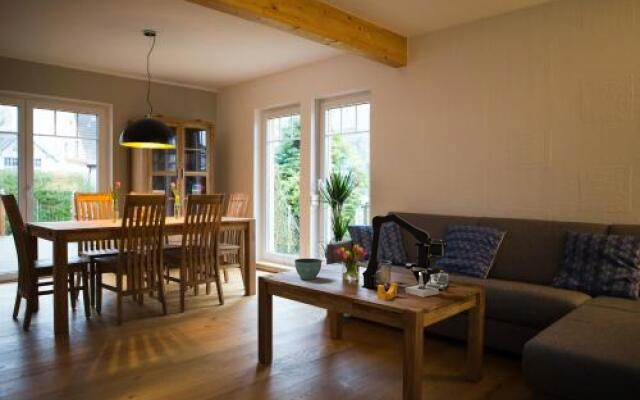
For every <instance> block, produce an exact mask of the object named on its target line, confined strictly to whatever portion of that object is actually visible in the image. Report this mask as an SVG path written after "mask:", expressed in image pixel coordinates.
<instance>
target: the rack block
mask: <svg viewBox="0 0 640 400" xmlns="http://www.w3.org/2000/svg"><path fill="white" fill-rule="evenodd" d="M405 293H407V294H411V295H415V296H419V297H422V298H425V297H429V296H435V295H439V289H438V288H432V287H428V286H426V289H424V290H421V289H419V284H418V285H417V286H412V287H406V291H405Z"/></svg>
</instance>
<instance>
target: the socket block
mask: <svg viewBox="0 0 640 400" xmlns="http://www.w3.org/2000/svg"><path fill="white" fill-rule="evenodd" d="M385 283H386V288H388V289H390V286H391V283H395V284H397V291H399V292H406V287H412V286H417V285H419V284H418V283H414V282H410V281H406V280H397V281H390V282H385Z"/></svg>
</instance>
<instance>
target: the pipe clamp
mask: <svg viewBox="0 0 640 400" xmlns="http://www.w3.org/2000/svg"><path fill="white" fill-rule="evenodd" d="M377 287H378V288H377V299H378V300H381V301H387V300H393V298H395V297H398V290H397V284H395V283H391V286H390V288H388V290H387V291H386V290H385V289H386V288H385V286H384V285H378V286H377Z"/></svg>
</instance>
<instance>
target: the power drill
mask: <svg viewBox="0 0 640 400" xmlns="http://www.w3.org/2000/svg"><path fill="white" fill-rule="evenodd" d="M430 238H431V237H430ZM431 240H432V241H433V243H443V249H444V250H447V249H446V248H450V244H449V243H447V241H446V240H443V239H440V238H439V239H438V238H431ZM419 243H422V242H419ZM425 245H426V244H425ZM428 257H430V260H432V261H434V259H435V258H439V256H432V255H431V254H430V253H429V254H428ZM424 269H425V268H424ZM422 272H425V270H422ZM440 273H442V274H446V272H444V270H442V269H440ZM429 279H430V277H429ZM429 279H428V281H427V282H429Z"/></svg>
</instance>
